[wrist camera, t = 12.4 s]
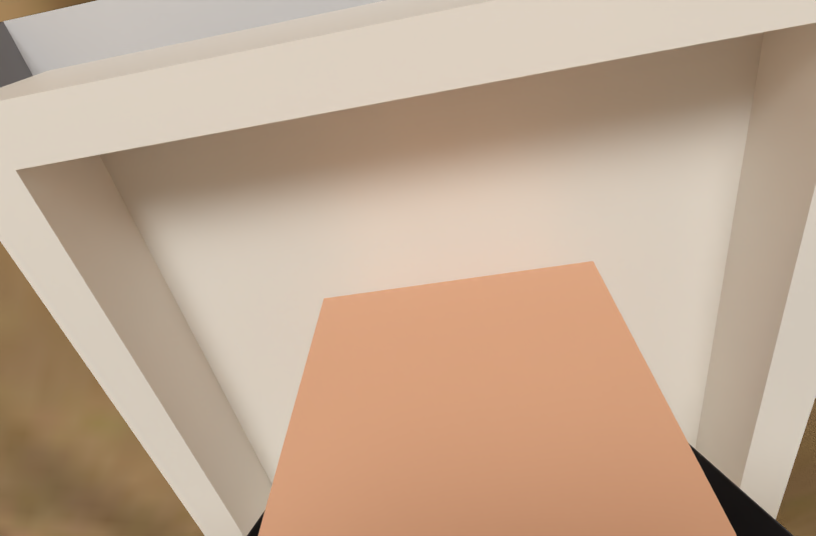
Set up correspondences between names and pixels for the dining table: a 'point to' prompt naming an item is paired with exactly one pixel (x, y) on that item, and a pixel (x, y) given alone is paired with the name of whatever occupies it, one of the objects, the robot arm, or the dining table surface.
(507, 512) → the block
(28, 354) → the dining table surface
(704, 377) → the cream rimmed tray
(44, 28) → the track
